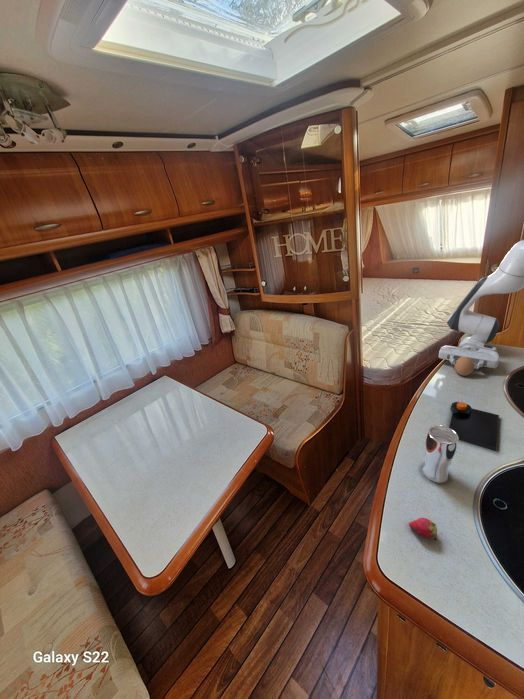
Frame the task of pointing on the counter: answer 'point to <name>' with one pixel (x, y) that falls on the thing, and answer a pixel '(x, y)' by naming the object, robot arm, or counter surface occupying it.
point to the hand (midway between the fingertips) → (464, 365)
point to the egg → (464, 366)
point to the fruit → (424, 528)
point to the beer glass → (439, 452)
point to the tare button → (461, 406)
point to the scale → (475, 426)
